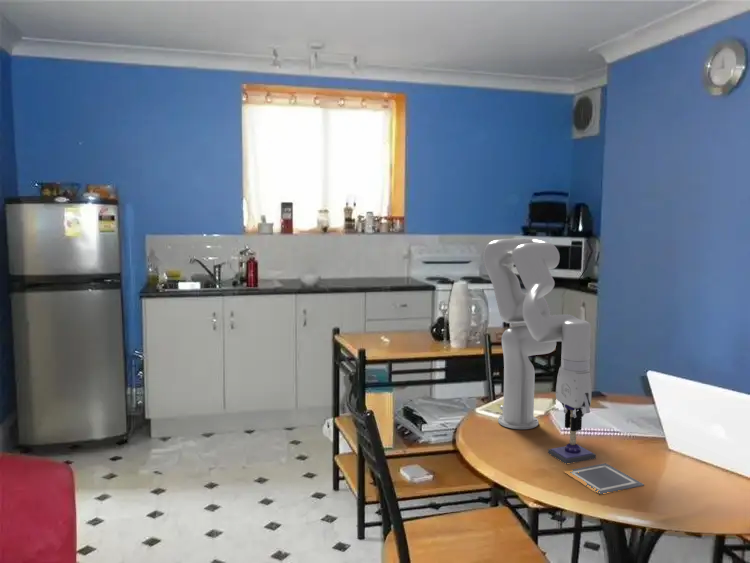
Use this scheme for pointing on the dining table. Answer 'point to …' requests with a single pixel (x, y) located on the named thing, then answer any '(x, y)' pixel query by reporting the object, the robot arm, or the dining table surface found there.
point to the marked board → (605, 478)
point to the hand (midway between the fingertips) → (573, 428)
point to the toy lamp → (572, 436)
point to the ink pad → (571, 455)
